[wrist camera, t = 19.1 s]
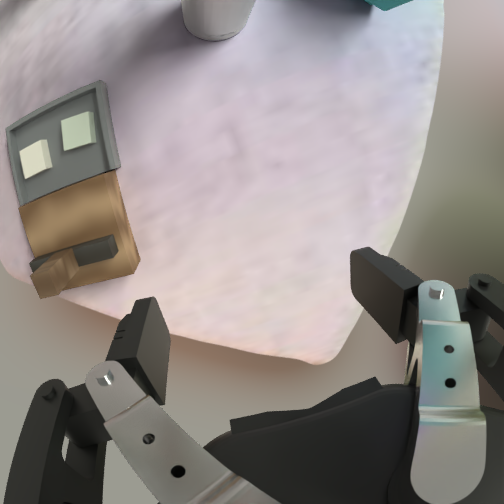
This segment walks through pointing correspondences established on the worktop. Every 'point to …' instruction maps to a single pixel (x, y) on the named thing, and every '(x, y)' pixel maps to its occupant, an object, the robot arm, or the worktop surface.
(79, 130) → the tile
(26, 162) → the tile
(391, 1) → the radio
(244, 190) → the worktop surface
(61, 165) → the bin
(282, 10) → the worktop surface
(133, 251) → the board
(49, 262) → the scraper
